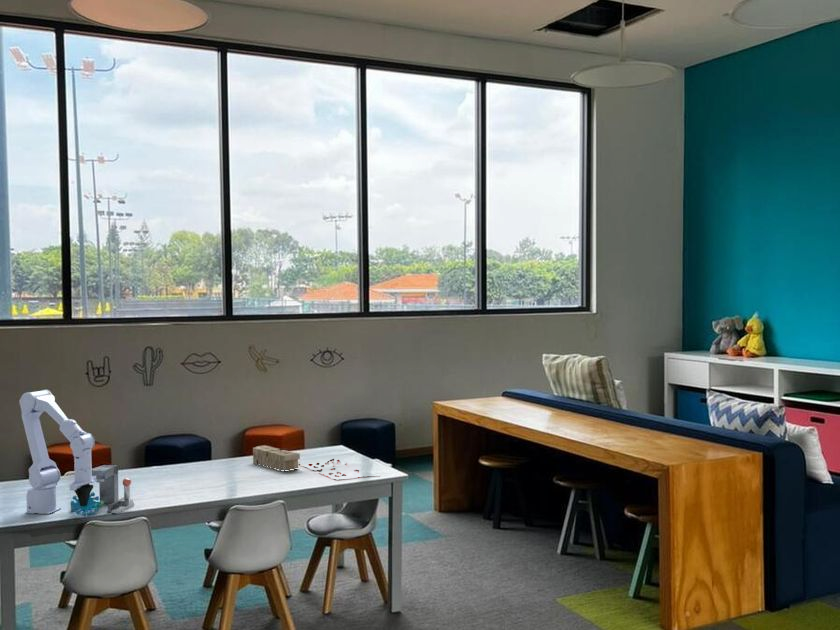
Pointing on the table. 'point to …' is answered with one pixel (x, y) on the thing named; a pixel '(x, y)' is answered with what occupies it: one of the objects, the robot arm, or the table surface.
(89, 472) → the robot arm
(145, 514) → the table surface
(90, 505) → the blue virus model
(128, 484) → the lever handle
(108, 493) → the press frame
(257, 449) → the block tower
